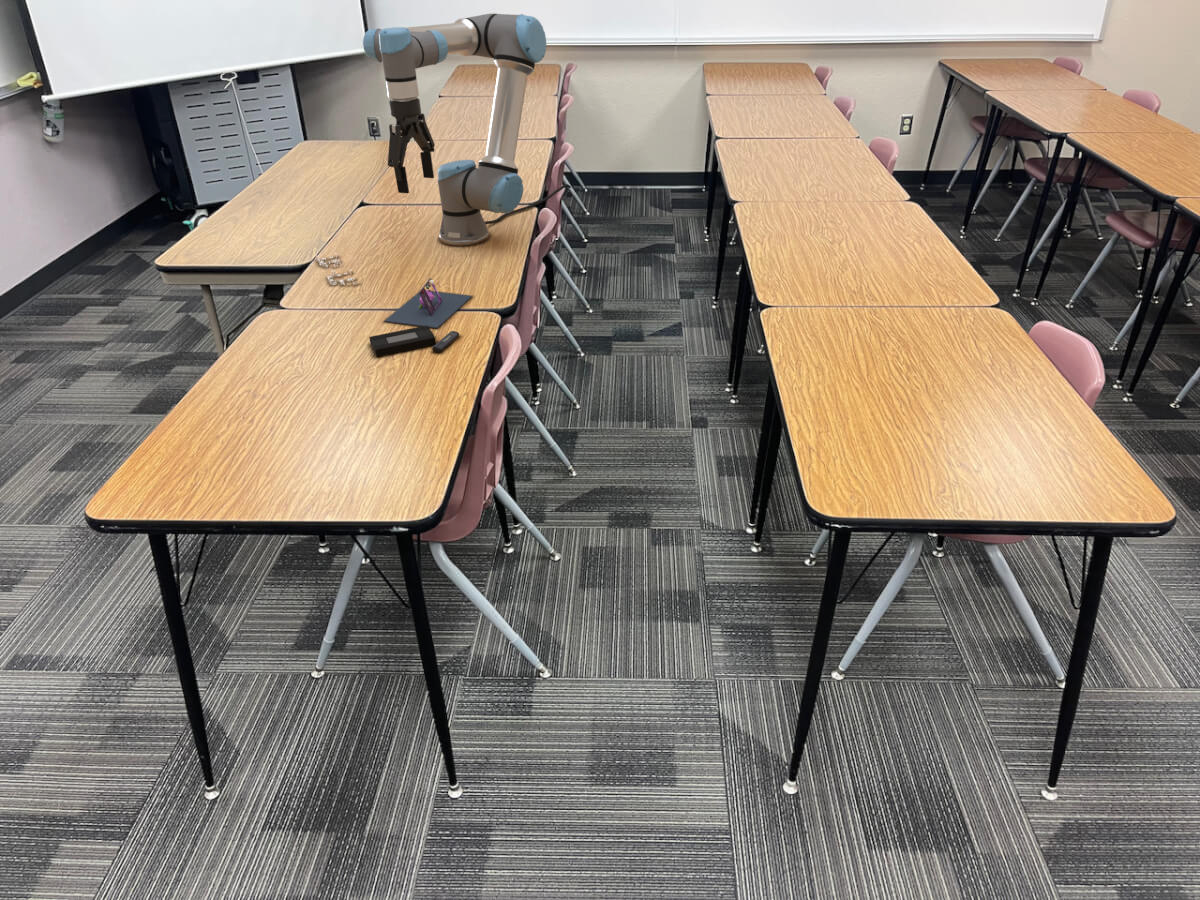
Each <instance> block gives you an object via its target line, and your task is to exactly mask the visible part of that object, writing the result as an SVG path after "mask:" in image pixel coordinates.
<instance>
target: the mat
mask: <svg viewBox="0 0 1200 900" xmlns="http://www.w3.org/2000/svg"><path fill="white" fill-rule="evenodd" d="M431 291H432V292H434V296H435V298H434V299H433V301H432V304H433V306H434V308H435V307H436V305H437V304H438V303H439V301H438V299H439V298H438V296H437V294H436V292H435V290H431ZM438 293H439V295H440V297H441V299H442V302H441V303H440V305H439V306H438V308H437V309H436V310H435V312H434V313H433V315H430V314H429V312H428V310H427V308H426V306H422V307H421V308H420V309H419V306H420V305H421V303H420V297H421V296H420V294H419V292H417V293H416V294H415V295H414V296H413V297H411V298H410V299H409V300H407V301H406V302H405V303H404V304H402V306H400V307H399V308H398V309H397V310H395V311H394V312H393V313H392V314H390V315H389V316H388V317H387V318H386V319H384V323H388V324H389V323H390V324H396V325H397V324H398V325H405V326H412V327H421V326H426V325H428V327H429V328H430V329H435V330H438V329H439V328H440V327H441V326H442V325H443V324H444V323H446V321H448V320H449V319H450V318H451V317H452V316H453V315H455V313H457V311H459V310H460V309H461V308H462V307H463V306H464V305H465V304H466V303H467V302H469V301H470V300H471V299H472V297H473V296H472V295H470V294H469V295H468V294H459V293H452V292H451V293H450V292H443V291H438Z"/></svg>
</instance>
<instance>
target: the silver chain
mask: <svg viewBox="0 0 1200 900" xmlns="http://www.w3.org/2000/svg"><path fill="white" fill-rule="evenodd" d="M334 255H335V259H334V256H332V255H330V256H329V260H327V257H321V258H319V257H318V255H315V259H316V262H318V264H319V266H320V267H324V268H326V269H328V268H329V265H331V264H333V268H334V269H336V268H339V265H342V263H341V260H340V259H338V255H337V253H336V252H335V253H334ZM331 259H333V260H331ZM324 260H325V261H328V264H329V265H328V264H327V262H325V261H324ZM330 260H331V261H330ZM348 271H349V272H345V271H344V273H343V274H342V273H341V272H340V274H339V273H336V270H331V274H330V275H327V281H328V283H329V285H331V287H332V286H336V285H338V282H339V283H340V286H343V287H344V286H345V287H346V285H349V283H350V282H352V285H353V286H358V281H355V277H349V278H347V279H343V278H342V279H339V280H336V279H335V280H334V279H333V278H334V277H339V278H340V277H343V276H346V275H348V273H349V274H350V275H352V274H353V273H352V270H351V269H350V268H349V269H348ZM345 280H346V282H347V283H346V284H345V282H344V281H345Z"/></svg>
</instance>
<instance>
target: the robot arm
mask: <svg viewBox="0 0 1200 900" xmlns="http://www.w3.org/2000/svg"><path fill="white" fill-rule="evenodd" d="M362 48H363V51H364V54H365V55H366V56H367V58H368V59H369V60H370V61H373V62H378V63H382V66H383V72H384V79H385V87H386V91H387V92H386V93H387V97H388V99H389V100H388V107H389V113H390V115H391V117H393V118H394V119H395V122H396V123H395V124H389V126H388V128H389V140H388V141H389V143H388V155H387V166H388V167H389V168H393V170H394V176H395V181H396V186H397V192H398V193H399V194H409V193H410V188H409V182H408V176H407V171H406V170H407V169H406V166H404V162H405V157H406V152H407V148H408V144H409V143H410V142H411V139H414V141H415V143H416V144H417V145H418V147H419V149H420V150H421V152H419V154H420V161H421V168H422V174H423V179H434V178H435V175H434V167H433V160H432V159H433V158H432V153H434V152H435V146H436V144H435V142H434V139H433V137H432V135H431V132H430V129H429V126H428V124H427V122H426V116H425V114H424V113H422V109H421V100H420V98H419V96H420V93H419V92H420V91H419V86H418V79H417V71H416V69H420V68H424V67H428V66H434V65H435V66H436V65H437V64H439V63H442V62H444V61H445V60H446V59H447V58H448V55H454V54H455V55H456V54H459V55H461V56H463V57H470V56H472V57H473V56H475V57H476V56H477V57H483V58H488V59H493V63H494V65H495V67H496V69H497V73H496V74H497V75H496V81H495V87H494V88H495V89H494V95H493V100H492V101H493V102H492V108H491V115H490V119H489V120H490V121H489V127H488V134H487V142H486V148H485V154H484V156H483V157H482V158H481V159H480V160H479V161H478V167H477V163H476V161H474V160H473V159H460V160H454V161H450V162H449V161H448V162H446V163H443V164H441V165H440V166H439V167H438V168H437V186H438V193H439V198H440V205H441V213H442V216H441V222H440V228H439V240H440V242H441V243H442V244H444V245H448V246H453V247H454V246H455V247H466V246H473V245H477V244H480V243H483V242H485V241H486V240H488V239H489V236H490V234H489V233H490V232H489V229H488V225H491V224H495V223H498V222H500V221H501V220H502V219H504V218H506V217H508V216H510V215H513V214H517V213H520V212H523V211H526V210H528V209H531V208H533V207H536V206H539V205H541V204H542V203H544V202H547V201H548V200H549V199H551V198H553V197H554V196H555V195H556V194H557V193H558V192H560V191H562V190H563V189H565V188H568V189H572V186H571V185H569V184H567V183H566V184H563V185H562V186H560V187H558V188H557V189H555V190H554V191H553V192H551V193H550V194H549V195H547V196H545V197H544V198H543V199H541V200H538V201H536V202H534V203H531V204H529V205H526V206H524V207H521V208H517V207H519V205H520V203H521V200H522V198H523V194H524V184H523V179H522V177H521V176H520V175H519V174H518V173H519V167H518V166H517V164H516V163H515V159H516V152H517V147H518V140H519V135H520V128H521V122H522V121H521V120H522V114H523V108H524V102H525V97H526V96H525V95H526V88H527V82H528V77H529V76H530V75H531V74H533V73H534V72H535V66H536V64H538V63H540V62H541V61H543V59H544V57H545V56H546V51H547V37H546V32H545V30H544V27H543V25H542V23H541V22H540V20H539V19H537V18H536V17H535V16H532V15H526V14H524V13H523V14H509V13H507V14H506V13H505V14H504V13H484V14H480V15H474V16H469V17H463V18H461V17H460V18H458V19H456V20H455V21H454V22H451V23H442V24H430V25H421V26H420V25H419V26H418V25H417V26H409V27H405V26H404V27H403V26H395V27H394V26H393V27H386V28H382V29H381V28H370V29H368V30H367V31H366V32H365V34H364V35H363V38H362ZM481 211H486V212H491V213H494V214H501V215H500V216H499V217H497V218H496V219H492V220H485V219H484V217H483V215H482V212H481Z"/></svg>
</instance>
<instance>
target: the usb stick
mask: <svg viewBox="0 0 1200 900" xmlns="http://www.w3.org/2000/svg"><path fill="white" fill-rule="evenodd" d="M459 337H460V332H459V331H456V330H451V331H449V332H448V333H447V334H446V335H445V336H444V337H442V338H441V339H439V341H438V342H436V344H435V345H432V346H431V350H432V351H433V352H434V353H441V352H443V351H444V350H445V349H446V348H447V347H449V346H450V345H451V344H452V343H453V342H454V341H456V339H457V338H459Z"/></svg>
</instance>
